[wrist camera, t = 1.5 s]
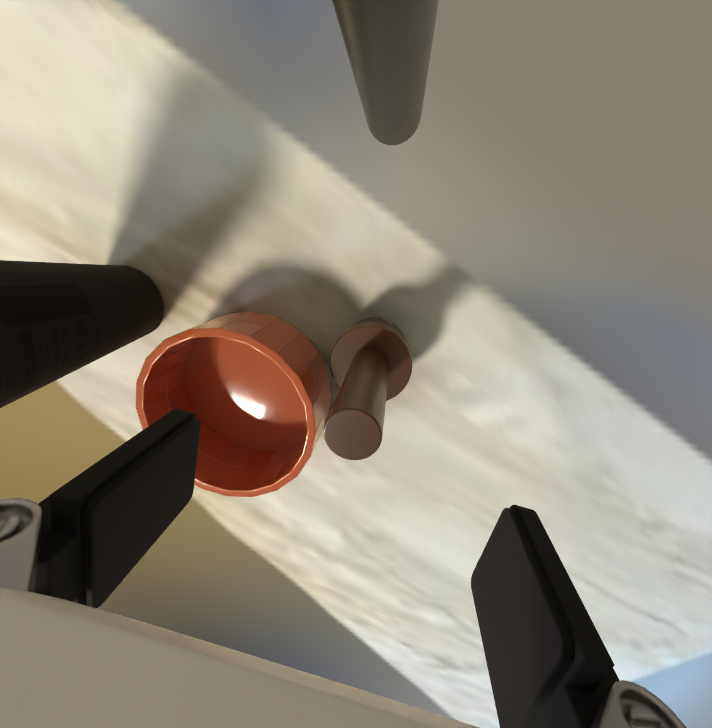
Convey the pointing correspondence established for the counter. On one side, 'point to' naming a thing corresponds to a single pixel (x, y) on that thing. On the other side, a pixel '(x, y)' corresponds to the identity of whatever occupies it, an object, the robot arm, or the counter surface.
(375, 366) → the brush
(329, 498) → the counter surface
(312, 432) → the bowl
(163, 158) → the counter surface
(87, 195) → the counter surface
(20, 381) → the drinking cup
